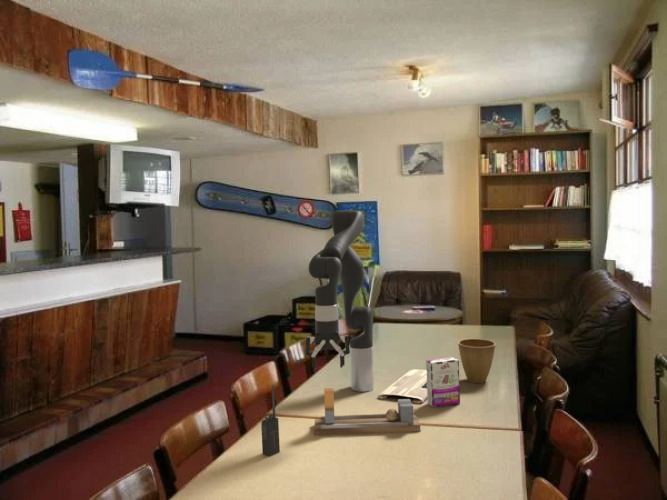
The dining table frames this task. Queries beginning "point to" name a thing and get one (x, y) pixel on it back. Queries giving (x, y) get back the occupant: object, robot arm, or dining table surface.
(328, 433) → the base
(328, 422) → the sliding jaw
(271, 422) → the walkie-talkie
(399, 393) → the newspaper
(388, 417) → the smooth beige ball
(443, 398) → the candy bar box
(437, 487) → the dining table surface
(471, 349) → the plant pot
